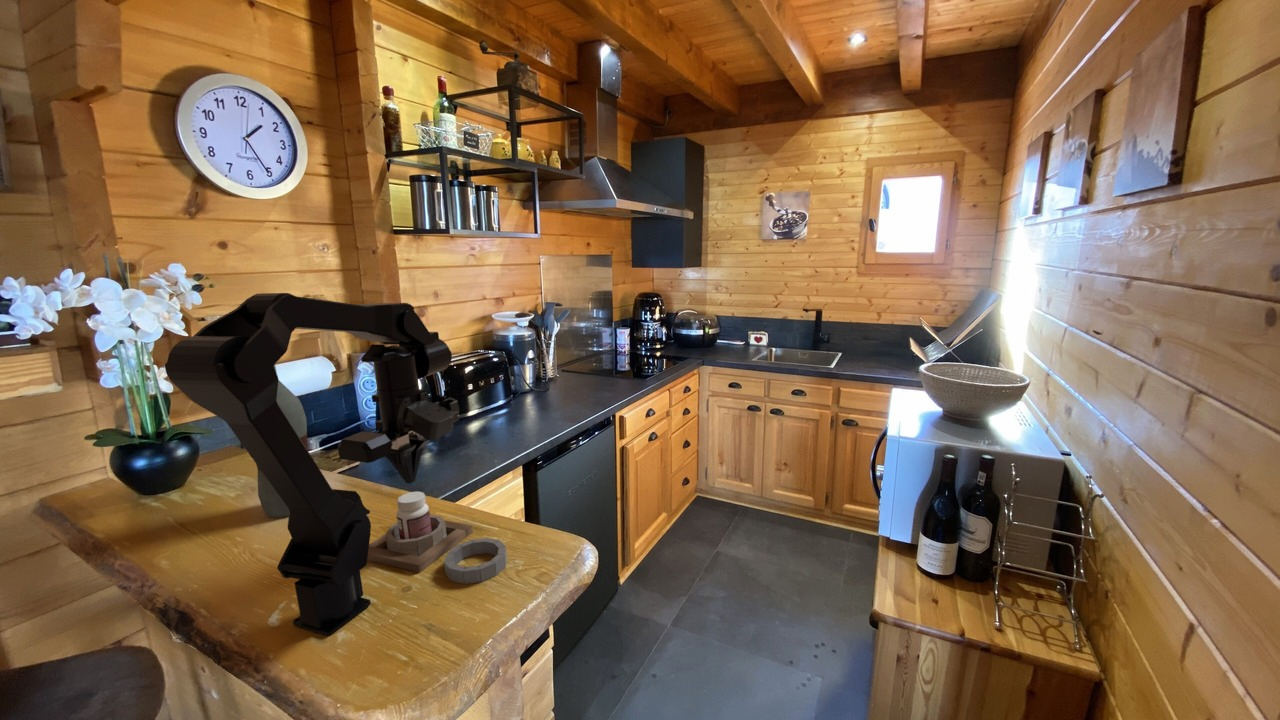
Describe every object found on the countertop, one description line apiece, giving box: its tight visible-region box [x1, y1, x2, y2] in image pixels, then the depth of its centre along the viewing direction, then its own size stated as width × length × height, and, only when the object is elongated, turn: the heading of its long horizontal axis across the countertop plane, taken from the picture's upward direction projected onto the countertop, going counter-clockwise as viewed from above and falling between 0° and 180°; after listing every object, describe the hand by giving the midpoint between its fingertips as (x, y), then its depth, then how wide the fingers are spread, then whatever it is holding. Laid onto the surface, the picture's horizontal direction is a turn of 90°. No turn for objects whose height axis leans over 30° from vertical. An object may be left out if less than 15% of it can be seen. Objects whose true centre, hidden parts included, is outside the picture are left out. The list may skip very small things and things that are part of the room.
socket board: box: [367, 513, 474, 573], centre depth 84 cm, size 12×12×3 cm
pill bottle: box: [396, 491, 432, 540], centre depth 84 cm, size 5×5×8 cm
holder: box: [443, 537, 508, 585], centre depth 78 cm, size 8×8×2 cm
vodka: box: [255, 364, 309, 519], centre depth 96 cm, size 9×9×30 cm
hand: (410, 482), depth 83 cm, fingers closed
